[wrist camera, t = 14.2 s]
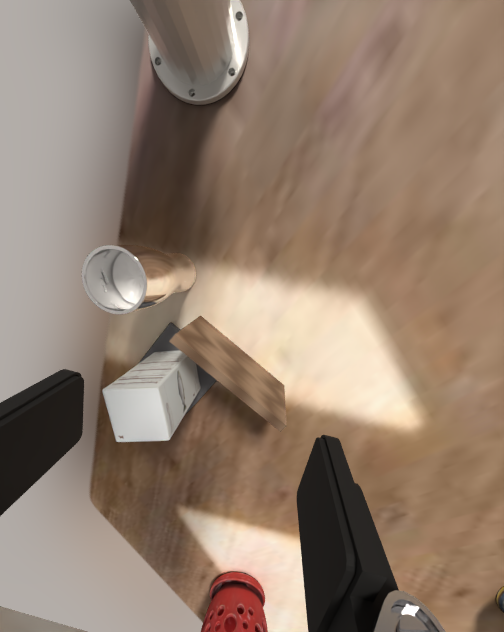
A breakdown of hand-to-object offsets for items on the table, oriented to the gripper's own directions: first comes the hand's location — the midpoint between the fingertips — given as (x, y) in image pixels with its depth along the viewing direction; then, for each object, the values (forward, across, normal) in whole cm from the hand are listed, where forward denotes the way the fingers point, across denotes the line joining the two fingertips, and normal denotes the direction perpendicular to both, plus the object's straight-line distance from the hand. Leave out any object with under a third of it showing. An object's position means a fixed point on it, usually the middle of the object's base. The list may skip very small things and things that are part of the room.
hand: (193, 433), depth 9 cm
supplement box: (+28, +10, +15) cm, 33 cm away
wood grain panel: (+28, 0, +9) cm, 30 cm away
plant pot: (+27, -11, +62) cm, 69 cm away
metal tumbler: (+29, +13, -1) cm, 32 cm away
